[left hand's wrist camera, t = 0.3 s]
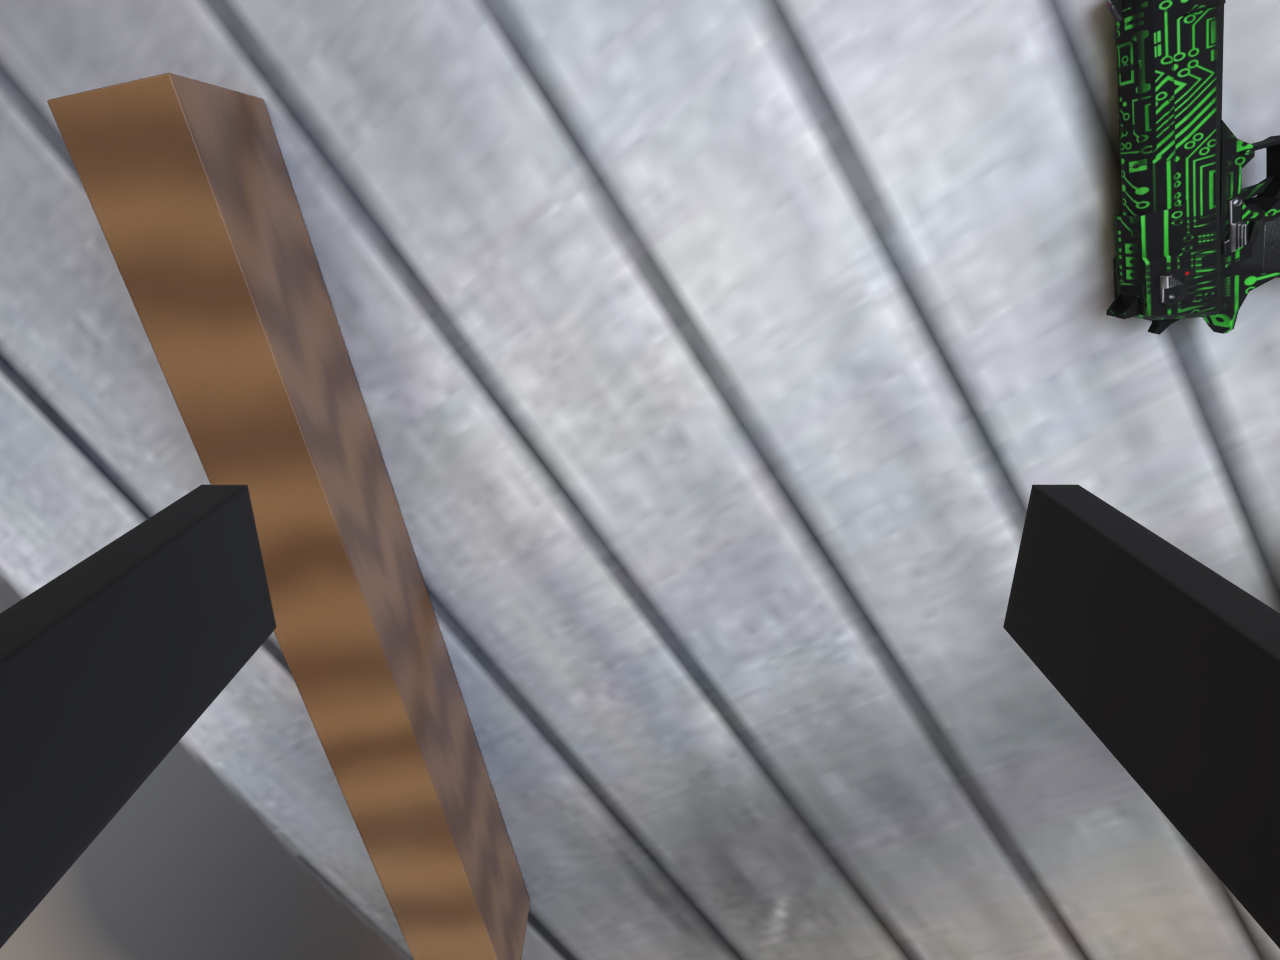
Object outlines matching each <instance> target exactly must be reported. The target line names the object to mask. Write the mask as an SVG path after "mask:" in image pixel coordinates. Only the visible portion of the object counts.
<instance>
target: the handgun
mask: <svg viewBox="0 0 1280 960" xmlns="http://www.w3.org/2000/svg"><path fill="white" fill-rule="evenodd" d="M1224 3H1225V0H1109V1H1107V2H1105V4H1106V6H1107V7H1108V9H1109V10H1110V12H1111V13H1112V14H1113V16H1114V17H1115V21H1116V42H1117V63H1118V99H1119V134H1120V164H1121V187H1122V209H1123V213H1121V214H1118V215H1114V225H1115V244H1116V257H1115V258H1114V259H1113V261H1114V284H1115V301H1114V302H1113V303H1112V305H1111V306H1110V307H1109V308H1108V310H1107V314H1106V315H1109V316H1114V317H1115V316H1116V317H1117V318H1122V319H1126V318H1130V317H1137V318H1142V319H1146V320H1152V324H1151V326H1150V328H1149V330H1148V332H1151V333H1155V334H1160V333H1162V332H1163V331H1164V330H1165V329H1166V328H1167V327H1168V326H1169V325H1170V324H1172V323H1174V322H1175V321H1177V320H1179V319H1181V318H1193V317H1203V318H1204V320H1205V321H1206V323H1207V324H1208V326H1209V327H1210V328H1211V329H1212V330H1213V331H1214V332H1218V333H1223V334H1224V333H1228V332H1229V331H1231V330H1232V329H1234V326H1235V322H1236V318H1237V314H1238V310H1239V309H1240V307H1241V305H1242V303H1243V302H1244V300H1245V298H1246V296H1247V294H1248V293H1249V291H1251V290H1253V289H1254V288H1256V287H1258V286H1260V285H1262V284H1264V283H1266V282H1268V281H1270V280H1272V279H1274V278H1280V136H1271V137H1269V138H1267V139H1265V140H1263V141H1260V142H1256V143H1253V144H1249V143H1246V142H1244V141H1241V140H1239V139H1237V138H1236V137H1235V136H1234V134H1233V133H1232V132H1231V131H1230V129H1229V128H1228V127H1227V126H1226V124H1225V123H1224V122H1223V121H1222V74H1223V28H1224ZM1262 148H1267V178H1266V179H1264V180H1263V181H1261V182H1260V183H1258V184H1256V185H1253V186H1250V187H1247V188H1244V189H1241V169H1242V168H1243V167H1244V166H1245V165H1246V164H1247V163H1248V162H1249V161H1250V160H1251V159H1252V158H1253V157H1254V151H1255V150H1259V149H1262ZM1257 194H1258V195H1257ZM1255 195H1257V196H1256V197H1253V196H1255ZM1251 197H1253V198H1251Z"/></svg>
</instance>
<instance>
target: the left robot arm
mask: <svg viewBox="0 0 1280 960" xmlns="http://www.w3.org/2000/svg"><path fill="white" fill-rule="evenodd" d="M275 629H276V622H275V617H274V612H273V607H272V602H271V598H270V593H269V588H268V583H267V578H266V573H265V568H264V563H263V558H262V553H261V548H260V543H259V539H258V534H257V529H256V524H255V519H254V514H253V509H252V504H251V499H250V494H249V489H248V485H201V486H199V487H198V488H196V489H195V490H193V491H191V492H190V493H188V494H187V495H185V496H184V497H182V498H180V499H179V500H177V501H176V502H174V503H173V504H171V505H169V506H168V507H166V508H165V509H163V510H162V511H160V512H159V513H157V514H155V515H154V516H152V517H151V518H149V519H148V520H146V521H144V522H143V523H141V524H140V525H138V526H137V527H135V528H133V529H132V530H130V531H129V532H127V533H126V534H124V535H122V536H121V537H119V538H118V539H116V540H115V541H113V542H112V543H110V544H108V545H107V546H105V547H104V548H102V549H101V550H99V551H97V552H96V553H94V554H93V555H91V556H90V557H88V558H86V559H85V560H83V561H82V562H80V563H79V564H77V565H76V566H74V567H72V568H71V569H69V570H68V571H66V572H65V573H63V574H61V575H60V576H58V577H57V578H55V579H54V580H52V581H50V582H49V583H47V584H46V585H44V586H43V587H41V588H40V589H38V590H36V591H35V592H33V593H32V594H30V595H29V596H27V597H25V598H24V599H22V600H21V601H19V602H18V603H16V604H15V605H13V606H11V607H10V608H8V609H7V610H5V611H4V612H2V613H0V948H1V947H2V946H3V945H4V944H5V942H6V941H7V940H8V939H9V938H10V937H11V935H12V934H13V933H14V932H15V931H16V930H17V928H18V927H19V926H20V925H21V924H22V923H23V922H24V920H25V919H26V918H27V917H28V916H29V915H30V913H31V912H32V911H33V910H34V909H35V908H36V906H37V905H38V904H39V903H40V902H41V901H42V899H43V898H44V897H45V896H46V895H47V894H48V892H49V891H50V890H51V889H52V888H53V887H54V885H55V884H56V883H57V882H58V881H59V880H60V879H61V877H62V876H63V875H64V874H65V873H66V872H67V870H68V869H69V868H70V867H71V866H72V864H73V863H74V862H75V861H76V860H77V859H78V858H79V856H80V855H81V854H82V853H83V852H84V851H85V849H86V848H87V847H88V846H89V845H90V844H91V842H92V841H93V840H94V839H95V838H96V837H97V836H98V834H99V833H100V832H101V831H102V830H103V828H104V827H105V826H106V825H107V824H108V823H109V822H110V820H111V819H112V818H113V817H114V816H115V815H116V813H117V812H118V811H119V810H120V809H121V808H122V806H123V805H124V804H125V803H126V802H127V801H128V799H129V798H130V797H131V796H132V795H133V794H134V792H135V791H136V790H137V789H138V788H139V787H140V785H141V784H142V783H143V782H144V781H145V780H146V779H147V777H148V776H149V775H150V774H151V773H152V772H153V770H154V769H155V768H156V767H157V766H158V764H159V763H160V762H161V761H162V760H163V759H164V758H165V756H166V755H167V754H168V753H169V752H170V751H171V749H172V748H173V747H174V746H175V745H176V744H177V743H178V741H179V740H180V739H181V738H182V737H183V736H184V734H185V733H186V732H187V731H188V730H189V729H190V727H191V726H192V725H193V724H194V723H195V722H196V720H197V719H198V718H199V717H200V716H201V715H202V713H203V712H204V711H205V710H206V709H207V708H208V706H209V705H210V704H211V703H212V702H213V701H214V700H215V698H216V697H217V696H218V695H219V694H220V693H221V691H222V690H223V689H224V688H225V687H226V686H227V684H228V683H229V682H230V681H231V680H232V679H233V677H234V676H235V675H236V674H237V673H238V672H239V670H240V669H241V668H242V667H243V666H244V665H245V663H246V662H247V661H248V660H249V659H250V658H251V656H252V655H253V654H254V653H255V652H256V651H257V650H258V648H259V647H260V646H261V645H262V644H263V643H264V641H265V640H266V639H267V638H268V637H269V636H270V634H271V633H272V632H273V631H274V630H275ZM1004 629H1005V630H1006V631H1007V632H1008V633H1009V634H1010V636H1011V637H1012V638H1013V639H1014V640H1015V641H1016V643H1017V644H1018V645H1019V646H1020V647H1021V648H1022V650H1023V651H1024V652H1025V653H1026V654H1027V655H1028V656H1029V658H1030V659H1031V660H1032V661H1033V662H1034V663H1035V665H1036V666H1037V667H1038V668H1039V669H1040V670H1041V672H1042V673H1043V674H1044V675H1045V676H1046V677H1047V679H1048V680H1049V681H1050V682H1051V683H1052V684H1053V686H1054V687H1055V688H1056V689H1057V690H1058V691H1059V693H1060V694H1061V695H1062V696H1063V697H1064V698H1065V700H1066V701H1067V702H1068V703H1069V704H1070V705H1071V706H1072V708H1073V709H1074V710H1075V711H1076V712H1077V713H1078V715H1079V716H1080V717H1081V718H1082V719H1083V720H1084V722H1085V723H1086V724H1087V725H1088V726H1089V727H1090V729H1091V730H1092V731H1093V732H1094V733H1095V734H1096V736H1097V737H1098V738H1099V739H1100V740H1101V741H1102V743H1103V744H1104V745H1105V746H1106V747H1107V748H1108V749H1109V751H1110V752H1111V753H1112V754H1113V755H1114V756H1115V758H1116V759H1117V760H1118V761H1119V762H1120V763H1121V765H1122V766H1123V767H1124V768H1125V769H1126V770H1127V772H1128V773H1129V774H1130V775H1131V776H1132V777H1133V779H1134V780H1135V781H1136V782H1137V783H1138V784H1139V786H1140V787H1141V788H1142V789H1143V790H1144V791H1145V792H1146V794H1147V795H1148V796H1149V797H1150V798H1151V799H1152V801H1153V802H1154V803H1155V804H1156V805H1157V806H1158V808H1159V809H1160V810H1161V811H1162V812H1163V813H1164V815H1165V816H1166V817H1167V818H1168V819H1169V820H1170V822H1171V823H1172V824H1173V825H1174V826H1175V827H1176V829H1177V830H1178V831H1179V832H1180V833H1181V834H1182V836H1183V837H1184V838H1185V839H1186V840H1187V841H1188V842H1189V844H1190V845H1191V846H1192V847H1193V848H1194V849H1195V851H1196V852H1197V853H1198V854H1199V855H1200V856H1201V858H1202V859H1203V860H1204V861H1205V862H1206V863H1207V865H1208V866H1209V867H1210V868H1211V869H1212V870H1213V872H1214V873H1215V874H1216V875H1217V876H1218V877H1219V879H1220V880H1221V881H1222V882H1223V883H1224V884H1225V885H1226V887H1227V888H1228V889H1229V890H1230V891H1231V892H1232V894H1233V895H1234V896H1235V897H1236V898H1237V899H1238V901H1239V902H1240V903H1241V904H1242V905H1243V906H1244V908H1245V909H1246V910H1247V911H1248V912H1249V913H1250V915H1251V916H1252V917H1253V918H1254V919H1255V920H1256V922H1257V923H1258V924H1259V925H1260V926H1261V927H1262V929H1263V930H1264V931H1265V932H1266V933H1267V934H1268V935H1269V937H1270V938H1271V939H1272V940H1273V941H1274V942H1275V944H1276V945H1277V946H1278V947H1279V948H1280V613H1278V612H1276V611H1275V610H1273V609H1272V608H1270V607H1269V606H1267V605H1266V604H1264V603H1262V602H1261V601H1259V600H1258V599H1256V598H1255V597H1253V596H1251V595H1250V594H1248V593H1247V592H1245V591H1244V590H1242V589H1240V588H1239V587H1237V586H1236V585H1234V584H1233V583H1231V582H1230V581H1228V580H1226V579H1225V578H1223V577H1222V576H1220V575H1219V574H1217V573H1215V572H1214V571H1212V570H1211V569H1209V568H1208V567H1206V566H1204V565H1203V564H1201V563H1200V562H1198V561H1197V560H1195V559H1193V558H1192V557H1190V556H1189V555H1187V554H1186V553H1184V552H1183V551H1181V550H1179V549H1178V548H1176V547H1175V546H1173V545H1172V544H1170V543H1168V542H1167V541H1165V540H1164V539H1162V538H1161V537H1159V536H1157V535H1156V534H1154V533H1153V532H1151V531H1150V530H1148V529H1147V528H1145V527H1143V526H1142V525H1140V524H1139V523H1137V522H1136V521H1134V520H1132V519H1131V518H1129V517H1128V516H1126V515H1125V514H1123V513H1121V512H1120V511H1118V510H1117V509H1115V508H1114V507H1112V506H1111V505H1109V504H1107V503H1106V502H1104V501H1103V500H1101V499H1100V498H1098V497H1096V496H1095V495H1093V494H1092V493H1090V492H1089V491H1087V490H1085V489H1084V488H1082V487H1081V486H1079V485H1032V489H1031V494H1030V499H1029V504H1028V509H1027V514H1026V519H1025V524H1024V529H1023V534H1022V539H1021V543H1020V548H1019V553H1018V558H1017V563H1016V568H1015V573H1014V578H1013V583H1012V588H1011V593H1010V598H1009V602H1008V607H1007V612H1006V617H1005V622H1004Z"/></svg>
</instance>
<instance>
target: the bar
mask: <svg viewBox="0 0 1280 960" xmlns="http://www.w3.org/2000/svg"><path fill="white" fill-rule="evenodd" d="M48 104H49V107H50V109H51V111H52V114H53V116H54V118H55V121H56V123H57V125H58V128H59V130H60V132H61V135H62V137H63V139H64V142H65V144H66V146H67V149H68V151H69V153H70V156H71V158H72V160H73V163H74V165H75V168H76V170H77V172H78V175H79V177H80V179H81V182H82V184H83V186H84V189H85V191H86V193H87V196H88V198H89V200H90V203H91V205H92V207H93V210H94V212H95V214H96V217H97V219H98V221H99V224H100V226H101V228H102V231H103V233H104V235H105V238H106V240H107V242H108V245H109V247H110V249H111V252H112V254H113V256H114V259H115V261H116V263H117V266H118V268H119V271H120V273H121V275H122V278H123V280H124V282H125V285H126V287H127V289H128V292H129V294H130V296H131V299H132V301H133V303H134V306H135V308H136V310H137V313H138V315H139V317H140V320H141V322H142V324H143V327H144V329H145V331H146V334H147V336H148V338H149V341H150V343H151V345H152V348H153V350H154V352H155V355H156V357H157V359H158V362H159V364H160V366H161V369H162V371H163V374H164V376H165V378H166V381H167V383H168V385H169V388H170V390H171V392H172V395H173V397H174V399H175V402H176V404H177V406H178V409H179V411H180V413H181V416H182V418H183V420H184V423H185V425H186V427H187V430H188V432H189V434H190V437H191V439H192V441H193V444H194V446H195V448H196V451H197V453H198V455H199V458H200V460H201V462H202V465H203V467H204V470H205V472H206V474H207V477H208V479H209V481H210V484H211V485H248V489H249V494H250V499H251V504H252V509H253V514H254V519H255V524H256V529H257V534H258V539H259V543H260V548H261V553H262V558H263V563H264V568H265V573H266V578H267V583H268V588H269V593H270V598H271V602H272V607H273V612H274V617H275V622H276V629H275V630H274V633H275V636H276V638H277V640H278V643H279V645H280V647H281V650H282V652H283V654H284V657H285V659H286V661H287V664H288V666H289V668H290V671H291V673H292V676H293V678H294V680H295V683H296V685H297V687H298V690H299V692H300V694H301V697H302V699H303V701H304V704H305V706H306V708H307V711H308V713H309V715H310V718H311V720H312V722H313V725H314V727H315V729H316V732H317V734H318V736H319V739H320V741H321V743H322V746H323V748H324V750H325V753H326V755H327V757H328V760H329V762H330V764H331V767H332V769H333V771H334V774H335V776H336V779H337V781H338V783H339V786H340V788H341V790H342V793H343V795H344V797H345V800H346V802H347V804H348V807H349V809H350V811H351V814H352V816H353V818H354V821H355V823H356V825H357V828H358V830H359V832H360V835H361V837H362V839H363V842H364V844H365V846H366V849H367V851H368V853H369V856H370V858H371V860H372V863H373V865H374V867H375V870H376V872H377V875H378V877H379V879H380V882H381V884H382V886H383V889H384V891H385V893H386V896H387V898H388V900H389V903H390V905H391V907H392V910H393V912H394V914H395V917H396V919H397V921H398V924H399V926H400V928H401V931H402V933H403V935H404V938H405V940H406V942H407V945H408V947H409V949H410V952H411V954H412V956H413V959H414V960H521V957H522V951H523V944H524V938H525V932H526V925H527V919H528V913H529V906H530V898H529V895H528V892H527V889H526V886H525V883H524V880H523V877H522V874H521V871H520V868H519V865H518V862H517V859H516V856H515V853H514V850H513V847H512V844H511V841H510V838H509V835H508V832H507V829H506V826H505V823H504V820H503V817H502V814H501V811H500V808H499V805H498V802H497V799H496V796H495V793H494V790H493V787H492V784H491V781H490V778H489V775H488V772H487V769H486V766H485V763H484V760H483V757H482V754H481V751H480V748H479V745H478V742H477V739H476V736H475V733H474V730H473V727H472V724H471V721H470V718H469V715H468V712H467V709H466V706H465V703H464V700H463V697H462V694H461V691H460V688H459V685H458V682H457V679H456V676H455V673H454V670H453V667H452V664H451V661H450V658H449V655H448V652H447V649H446V646H445V643H444V640H443V637H442V634H441V631H440V628H439V625H438V622H437V619H436V616H435V613H434V610H433V607H432V604H431V601H430V598H429V595H428V592H427V589H426V586H425V583H424V580H423V577H422V574H421V571H420V568H419V565H418V562H417V559H416V556H415V553H414V550H413V547H412V544H411V541H410V538H409V535H408V532H407V529H406V526H405V523H404V520H403V517H402V514H401V511H400V508H399V505H398V502H397V499H396V496H395V493H394V490H393V487H392V484H391V481H390V478H389V475H388V472H387V469H386V466H385V463H384V460H383V457H382V454H381V451H380V448H379V445H378V442H377V439H376V436H375V433H374V430H373V427H372V424H371V421H370V418H369V415H368V412H367V409H366V406H365V403H364V400H363V397H362V394H361V391H360V388H359V385H358V382H357V379H356V376H355V373H354V370H353V367H352V364H351V361H350V358H349V355H348V352H347V349H346V346H345V343H344V340H343V337H342V334H341V331H340V328H339V325H338V322H337V319H336V316H335V313H334V310H333V307H332V304H331V301H330V298H329V295H328V292H327V289H326V286H325V283H324V280H323V277H322V274H321V271H320V268H319V265H318V262H317V259H316V256H315V253H314V250H313V247H312V244H311V241H310V238H309V235H308V232H307V229H306V226H305V223H304V220H303V217H302V214H301V211H300V208H299V205H298V202H297V199H296V196H295V193H294V190H293V187H292V184H291V181H290V178H289V175H288V172H287V169H286V166H285V163H284V160H283V157H282V154H281V151H280V148H279V145H278V142H277V139H276V136H275V133H274V130H273V127H272V124H271V121H270V118H269V115H268V112H267V109H266V106H265V103H264V100H263V99H261V98H258V97H254V96H251V95H247V94H243V93H240V92H236V91H233V90H229V89H225V88H222V87H218V86H215V85H211V84H207V83H204V82H200V81H197V80H193V79H189V78H186V77H182V76H179V75H175V74H171V73H166V74H161V75H157V76H152V77H148V78H143V79H139V80H135V81H130V82H126V83H121V84H117V85H112V86H108V87H103V88H99V89H95V90H90V91H86V92H81V93H77V94H72V95H68V96H63V97H59V98H55V99H50V100H48Z"/></svg>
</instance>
